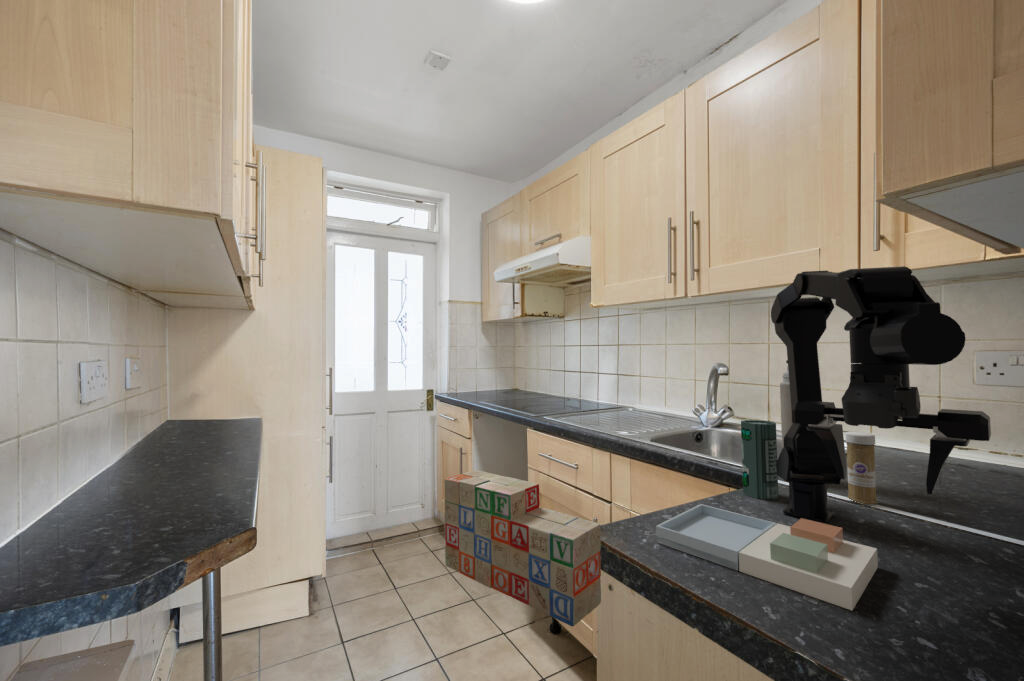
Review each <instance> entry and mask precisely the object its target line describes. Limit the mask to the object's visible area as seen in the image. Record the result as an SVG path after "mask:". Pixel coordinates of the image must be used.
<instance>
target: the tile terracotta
mask: <svg viewBox="0 0 1024 681" xmlns="http://www.w3.org/2000/svg"><path fill="white" fill-rule="evenodd" d="M790 533H791V535H794V536H797V537H801V538H805V539H809V540H812V541H816V542H820V543H824V544H827V549H828V552H831V553H835V552H836V550H837V549H838V548H839V547H840V546H841V545H842V543H843V540H844V528H843V527H839V526H835V525H832V524H827V523H822V522H818V521H814V520H809V519H805V518H801V517H800V518H799V519H798V520H797V521H796V522H794V523H793V524H792V525H791V526H790Z"/></svg>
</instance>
